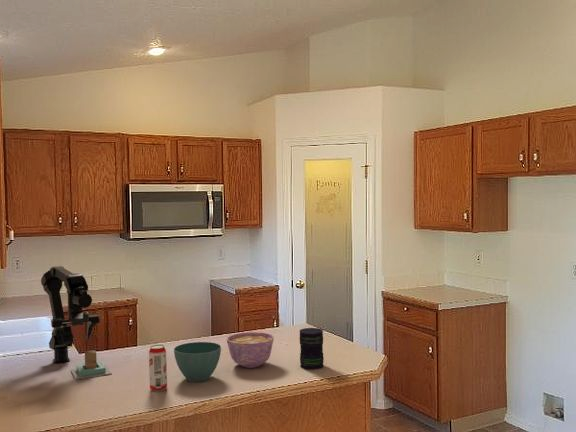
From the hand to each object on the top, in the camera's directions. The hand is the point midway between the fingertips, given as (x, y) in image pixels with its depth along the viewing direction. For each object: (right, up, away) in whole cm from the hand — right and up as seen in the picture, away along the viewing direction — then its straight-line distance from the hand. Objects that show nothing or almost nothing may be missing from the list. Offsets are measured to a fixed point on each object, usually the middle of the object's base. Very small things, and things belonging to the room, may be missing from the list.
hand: (76, 341), depth 242 cm
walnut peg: (+8, -11, -6) cm, 15 cm away
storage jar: (+99, -10, -3) cm, 100 cm away
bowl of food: (+73, -10, +1) cm, 74 cm away
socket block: (+8, -12, -6) cm, 15 cm away
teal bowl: (+54, -11, -16) cm, 57 cm away
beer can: (+41, -12, -28) cm, 51 cm away
